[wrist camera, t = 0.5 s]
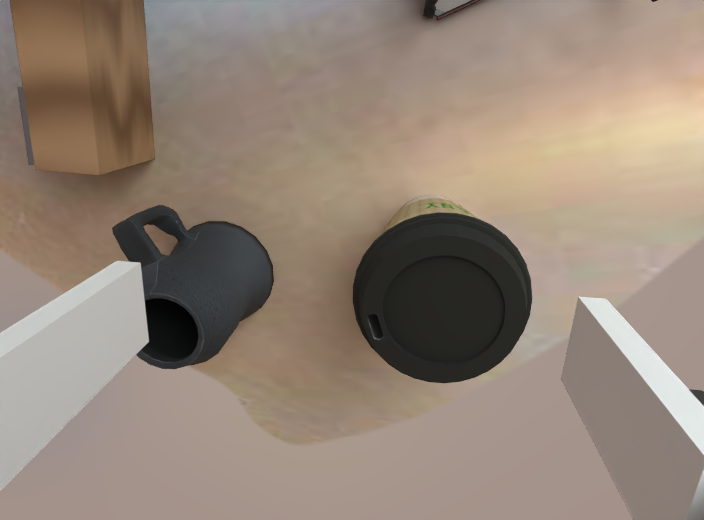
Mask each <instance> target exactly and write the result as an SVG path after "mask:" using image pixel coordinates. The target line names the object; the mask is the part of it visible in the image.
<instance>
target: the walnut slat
mask: <svg viewBox="0 0 704 520" xmlns="http://www.w3.org/2000/svg"><path fill="white" fill-rule="evenodd" d="M10 6H11V12H12V19H13V26H14V32H15V39H16V45H17V52H18V58H19V65H20V72H21V78H22V85H23V91H24V98H25V104H26V111H27V118H28V124H29V131H30V137H31V144H32V150H33V157H34V163H35V170H41V171H54V172H67V173H79V174H92V175H102V174H105V173H108V172H112V171H115V170H119V169H122V168H125V167H129V166H132V165H136V164H139V163H142V162H146V161H149V160H153V159H155V151H154V137H153V123H152V109H151V96H150V82H149V68H148V54H147V40H146V27H145V13H144V0H10Z"/></svg>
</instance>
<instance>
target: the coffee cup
mask: <svg viewBox="0 0 704 520" xmlns="http://www.w3.org/2000/svg"><path fill="white" fill-rule="evenodd" d="M531 304H532V290H531V279H530V275H529V272H528V269H527V265H526V263H525V261H524V259H523V257H522V256H521V254H520V252H519V250H518V248H517V247H516V246H515V245H514V244H513V243H512V242H511V241H510V240H509V238H508V237H507V236H506V235H505V234H503V233H502V232H500V231H499V230H498V229H496V228H495V227H494V226H492V225H490V224H488V223H486V222H484V221H482V220H480V219H477V218H476V217H475V216H474V215H472V214H471V213H470V212H469V211H467V210H466V209H465V208H463V207H462V206H460V205H459V204H456V203H454V202H453V201H451V200H449V199H447V198H445V197H441V196H436V195H427V196H421V197H418V198H415V199H413V200H411V201H410V202H408V203H407V204H406V205H404V206H403V207H402V208H401V209H400V211H399V212H398V213H397V214H396V215H395V216H394V217H393V219H392V220H391V221H390V223H389V224H388V226H387V227H386V229H385V230H384V232H383V233H382V235H381V236H380V237H379V238H377V239H376V240H375V241H374V242H373V244H372V245H371V246H370V248H369V249H368V250H367V251H366V253H365V254H364V256H363V258H362V260H361V262H360V264H359V266H358V268H357V271H356V275H355V280H354V284H353V305H354V310H355V315H356V320H357V322H358V325H359V327H360V329H361V332H362V334H363V335H364V337H365V338H366V340H367V341H368V343H369V344H370V346H371V347H372V348H373V349H374V350H375V351H376V352H377V353H378V354H379V355H380V356H381V357H382V358H383V359H384V360H385V361H386V362H387V363H388V364H389V365H391V366H392V367H394V368H395V369H397V370H398V371H400V372H401V373H403V374H406V375H408V376H410V377H413V378H415V379H419V380H423V381H427V382H437V383H450V382H460V381H464V380H467V379H471V378H475V377H477V376H479V375H481V374H483V373H485V372H487V371H489V370H491V369H492V368H493V367H495V366H496V365H498V364H499V363H500V362H501V361H502V360H503V359H504V358H505V357H506V356H507V355H508V354H509V353H510V352H511V351H512V349H513V348H514V346H515V345H516V343H517V341H518V340H519V338H520V336H521V335H522V333H523V332H524V329H525V326H526V324H527V321H528V319H529V316H530V310H531Z"/></svg>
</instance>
